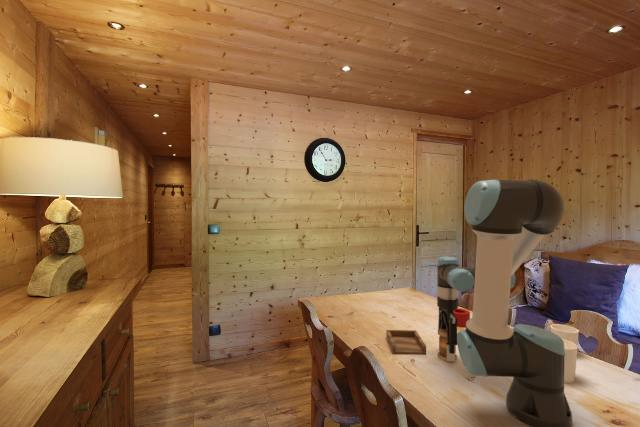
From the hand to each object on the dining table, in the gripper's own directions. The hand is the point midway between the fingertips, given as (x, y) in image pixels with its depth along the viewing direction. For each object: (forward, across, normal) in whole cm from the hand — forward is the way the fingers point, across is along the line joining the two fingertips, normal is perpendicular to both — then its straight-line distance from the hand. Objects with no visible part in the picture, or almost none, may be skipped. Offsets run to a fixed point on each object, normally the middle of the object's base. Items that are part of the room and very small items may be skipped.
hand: (447, 356), depth 123 cm
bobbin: (+1, 0, 0) cm, 1 cm away
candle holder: (+1, -13, -33) cm, 35 cm away
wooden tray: (+1, +10, +14) cm, 17 cm away
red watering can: (+1, +41, -18) cm, 45 cm away
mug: (+1, +6, -48) cm, 49 cm away
